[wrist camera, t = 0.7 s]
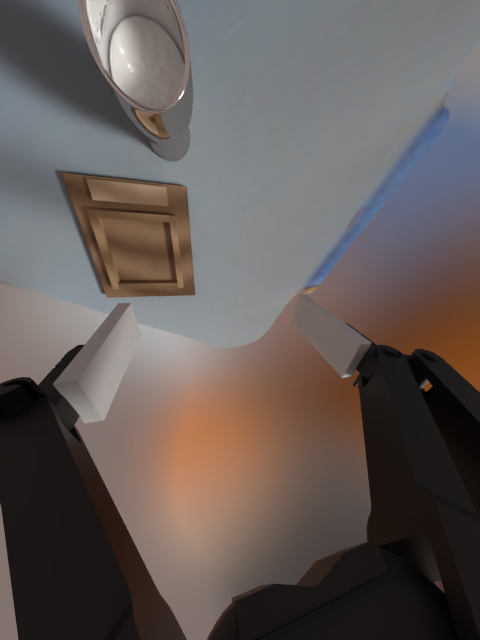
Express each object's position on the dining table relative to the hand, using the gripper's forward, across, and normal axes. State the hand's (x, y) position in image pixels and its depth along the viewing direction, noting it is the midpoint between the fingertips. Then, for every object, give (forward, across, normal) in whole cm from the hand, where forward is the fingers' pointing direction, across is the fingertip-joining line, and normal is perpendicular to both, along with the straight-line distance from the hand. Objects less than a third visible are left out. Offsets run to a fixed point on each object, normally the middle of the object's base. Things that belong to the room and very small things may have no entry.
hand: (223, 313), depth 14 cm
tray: (+23, -11, +1) cm, 26 cm away
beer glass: (+24, -4, +16) cm, 29 cm away
